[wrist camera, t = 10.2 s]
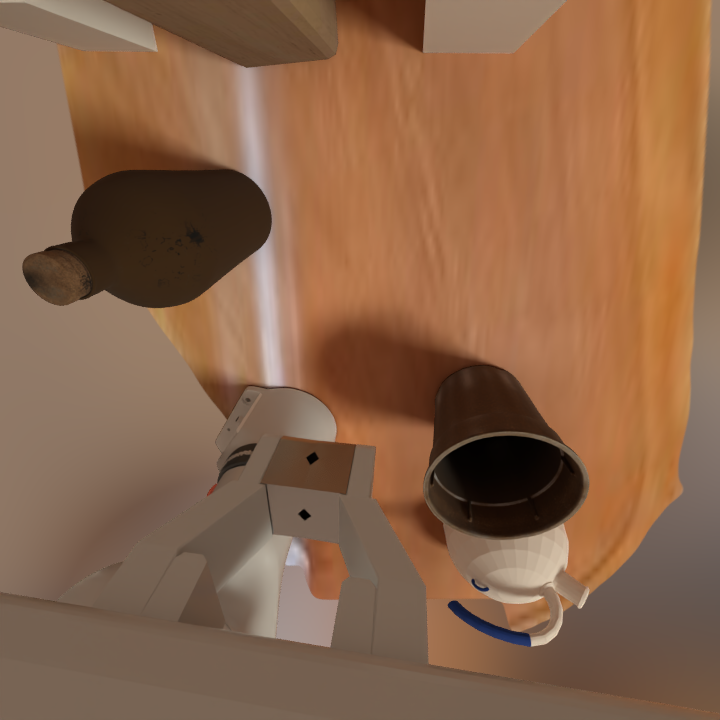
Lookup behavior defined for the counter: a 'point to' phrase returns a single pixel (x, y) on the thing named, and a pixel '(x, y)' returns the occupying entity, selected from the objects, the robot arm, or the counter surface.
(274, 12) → the block
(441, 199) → the counter surface
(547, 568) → the kettle
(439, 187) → the counter surface
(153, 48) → the marked block two
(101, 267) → the olive oil
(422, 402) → the counter surface
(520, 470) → the plant pot
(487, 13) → the marked block one
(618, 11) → the counter surface
